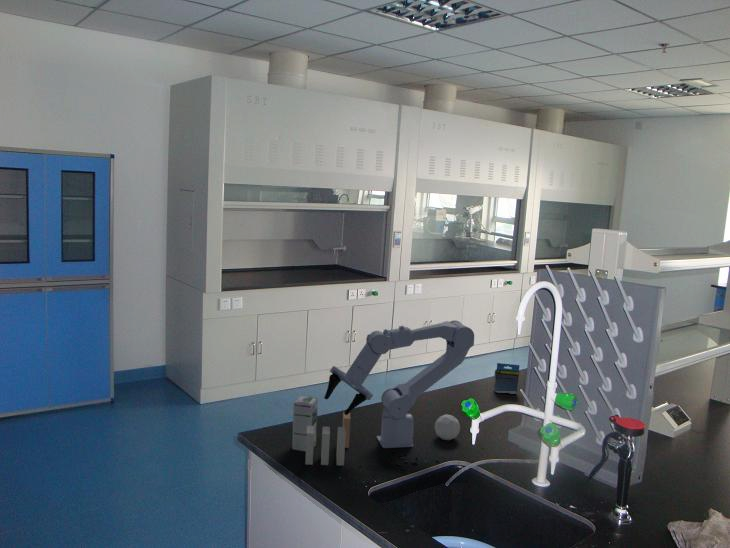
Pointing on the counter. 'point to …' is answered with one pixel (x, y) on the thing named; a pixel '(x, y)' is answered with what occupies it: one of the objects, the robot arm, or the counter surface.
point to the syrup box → (304, 421)
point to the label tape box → (506, 377)
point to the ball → (447, 427)
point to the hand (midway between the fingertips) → (335, 406)
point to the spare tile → (346, 428)
